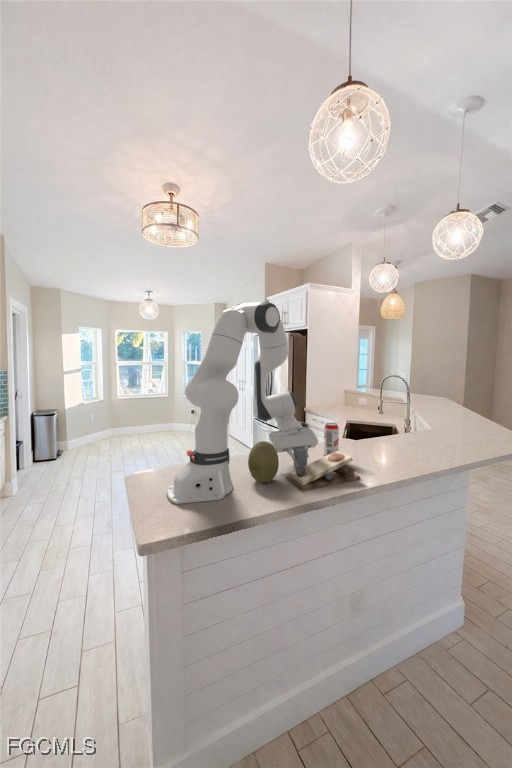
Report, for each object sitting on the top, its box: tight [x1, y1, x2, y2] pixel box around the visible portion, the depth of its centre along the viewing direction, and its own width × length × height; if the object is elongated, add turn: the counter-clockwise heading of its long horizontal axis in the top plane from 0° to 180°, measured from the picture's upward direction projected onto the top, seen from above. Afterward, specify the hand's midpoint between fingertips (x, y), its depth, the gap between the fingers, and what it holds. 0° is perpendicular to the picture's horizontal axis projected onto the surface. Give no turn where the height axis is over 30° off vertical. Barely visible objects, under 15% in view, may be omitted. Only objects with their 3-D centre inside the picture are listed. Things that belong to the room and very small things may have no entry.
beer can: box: [323, 422, 340, 457], centre depth 140 cm, size 6×6×16 cm
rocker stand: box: [285, 464, 361, 492], centre depth 119 cm, size 25×12×4 cm, turn 112°
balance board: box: [289, 451, 354, 486], centre depth 118 cm, size 22×9×4 cm, turn 112°
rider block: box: [293, 448, 308, 469], centre depth 130 cm, size 4×4×8 cm
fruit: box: [247, 440, 280, 484], centre depth 117 cm, size 11×11×15 cm
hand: (301, 458), depth 129 cm, fingers closed on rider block, 4 cm apart
